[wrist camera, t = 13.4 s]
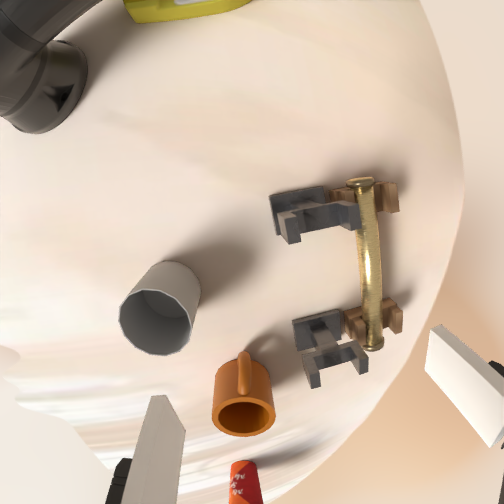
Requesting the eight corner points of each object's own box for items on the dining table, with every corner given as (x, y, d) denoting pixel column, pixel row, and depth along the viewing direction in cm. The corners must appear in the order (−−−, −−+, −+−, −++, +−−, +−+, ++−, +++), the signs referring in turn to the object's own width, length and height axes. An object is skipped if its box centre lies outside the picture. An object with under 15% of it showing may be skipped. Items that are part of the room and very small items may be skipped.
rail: (349, 178, 34) (342, 181, 32) (375, 175, 32) (371, 178, 30) (364, 337, 41) (358, 351, 38) (385, 338, 39) (381, 352, 36)
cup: (201, 262, 38) (191, 291, 28) (201, 318, 40) (193, 358, 30) (140, 260, 37) (113, 286, 27) (145, 314, 39) (123, 351, 29)
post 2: (290, 320, 41) (308, 366, 30) (338, 308, 41) (368, 348, 30) (295, 348, 42) (312, 396, 31) (340, 336, 42) (367, 379, 31)
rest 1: (328, 190, 36) (341, 192, 31) (380, 181, 36) (398, 183, 32) (332, 216, 37) (346, 222, 32) (383, 206, 37) (401, 211, 32)
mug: (282, 347, 42) (293, 384, 33) (261, 401, 45) (266, 439, 36) (224, 336, 41) (223, 374, 32) (209, 393, 43) (206, 432, 35)
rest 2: (343, 311, 41) (355, 326, 36) (389, 297, 41) (404, 310, 36) (345, 331, 42) (356, 347, 37) (389, 317, 42) (403, 331, 37)
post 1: (266, 196, 36) (281, 204, 25) (322, 186, 36) (356, 190, 25) (274, 234, 37) (291, 257, 26) (328, 222, 37) (363, 241, 27)
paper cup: (230, 456, 49) (232, 509, 35) (265, 459, 50) (272, 510, 36) (222, 472, 50) (223, 520, 37) (254, 475, 51) (259, 522, 38)
